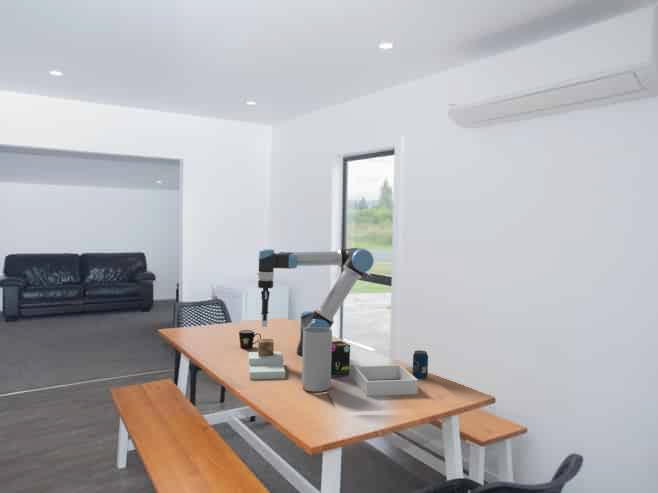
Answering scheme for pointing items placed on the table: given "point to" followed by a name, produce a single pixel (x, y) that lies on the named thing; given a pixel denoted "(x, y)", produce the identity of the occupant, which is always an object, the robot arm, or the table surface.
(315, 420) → the table surface
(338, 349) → the tampon box
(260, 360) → the steps
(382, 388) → the tray
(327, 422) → the table surface
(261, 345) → the cube
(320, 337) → the cylinder vase
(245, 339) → the coffee mug
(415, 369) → the soda can
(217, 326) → the table surface
